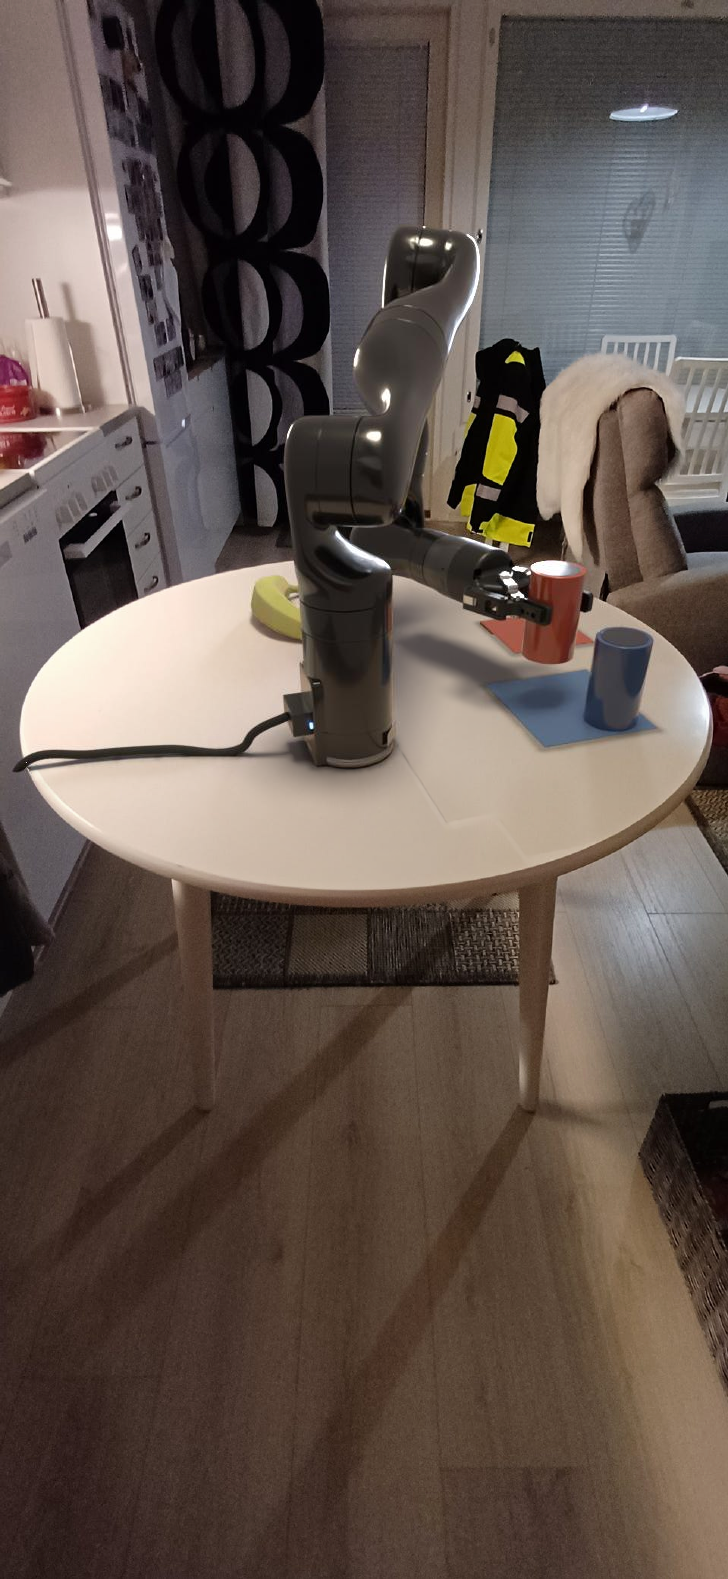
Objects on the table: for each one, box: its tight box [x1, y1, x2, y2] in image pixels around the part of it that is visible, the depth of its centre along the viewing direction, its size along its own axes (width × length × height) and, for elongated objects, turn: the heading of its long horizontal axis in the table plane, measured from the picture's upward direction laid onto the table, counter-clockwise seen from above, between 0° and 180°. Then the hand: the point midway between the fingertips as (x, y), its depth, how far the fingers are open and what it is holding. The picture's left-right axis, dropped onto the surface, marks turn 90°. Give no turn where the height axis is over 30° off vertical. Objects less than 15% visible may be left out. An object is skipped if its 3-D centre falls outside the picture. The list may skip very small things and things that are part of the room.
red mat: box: [479, 616, 595, 654], centre depth 111 cm, size 12×12×1 cm
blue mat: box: [485, 669, 658, 748], centre depth 92 cm, size 14×16×1 cm
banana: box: [250, 574, 302, 641], centre depth 117 cm, size 14×6×20 cm
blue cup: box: [583, 626, 655, 731], centre depth 86 cm, size 6×6×10 cm
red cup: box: [520, 560, 587, 665], centre depth 87 cm, size 6×6×10 cm
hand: (570, 610), depth 85 cm, fingers closed on red cup, 6 cm apart
